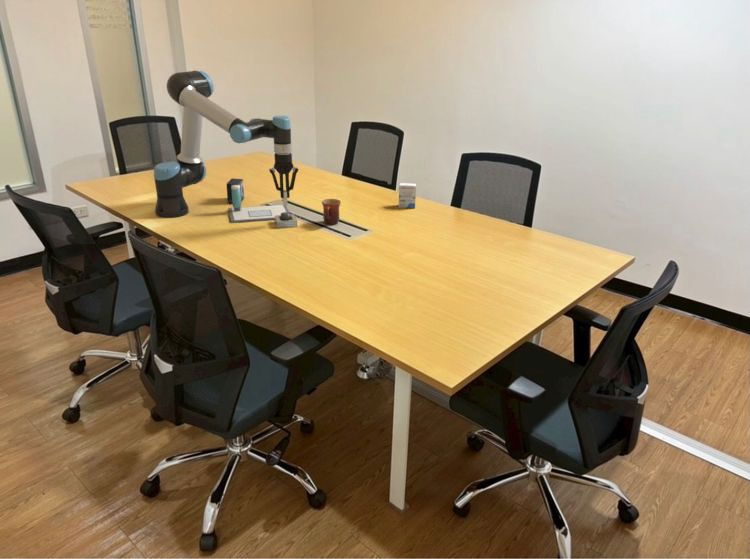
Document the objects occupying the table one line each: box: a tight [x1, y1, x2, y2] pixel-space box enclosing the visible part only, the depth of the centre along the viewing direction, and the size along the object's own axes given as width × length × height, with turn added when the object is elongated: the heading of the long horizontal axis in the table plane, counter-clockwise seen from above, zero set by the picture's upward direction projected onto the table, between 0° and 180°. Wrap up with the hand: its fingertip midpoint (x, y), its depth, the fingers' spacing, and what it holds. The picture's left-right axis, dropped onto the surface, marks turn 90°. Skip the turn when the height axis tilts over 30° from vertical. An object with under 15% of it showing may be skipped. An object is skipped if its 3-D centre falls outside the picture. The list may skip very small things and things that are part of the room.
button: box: [281, 212, 291, 220], centre depth 259 cm, size 4×4×3 cm
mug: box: [321, 198, 342, 226], centre depth 261 cm, size 12×9×10 cm
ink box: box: [397, 182, 417, 209], centre depth 287 cm, size 9×5×12 cm, turn 84°
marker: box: [231, 185, 242, 211], centre depth 271 cm, size 4×4×12 cm
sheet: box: [227, 204, 291, 224], centre depth 273 cm, size 28×20×1 cm
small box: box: [225, 178, 245, 205], centre depth 289 cm, size 11×6×10 cm, turn 179°
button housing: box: [274, 213, 298, 229], centre depth 260 cm, size 9×9×3 cm
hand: (285, 204), depth 257 cm, fingers closed
